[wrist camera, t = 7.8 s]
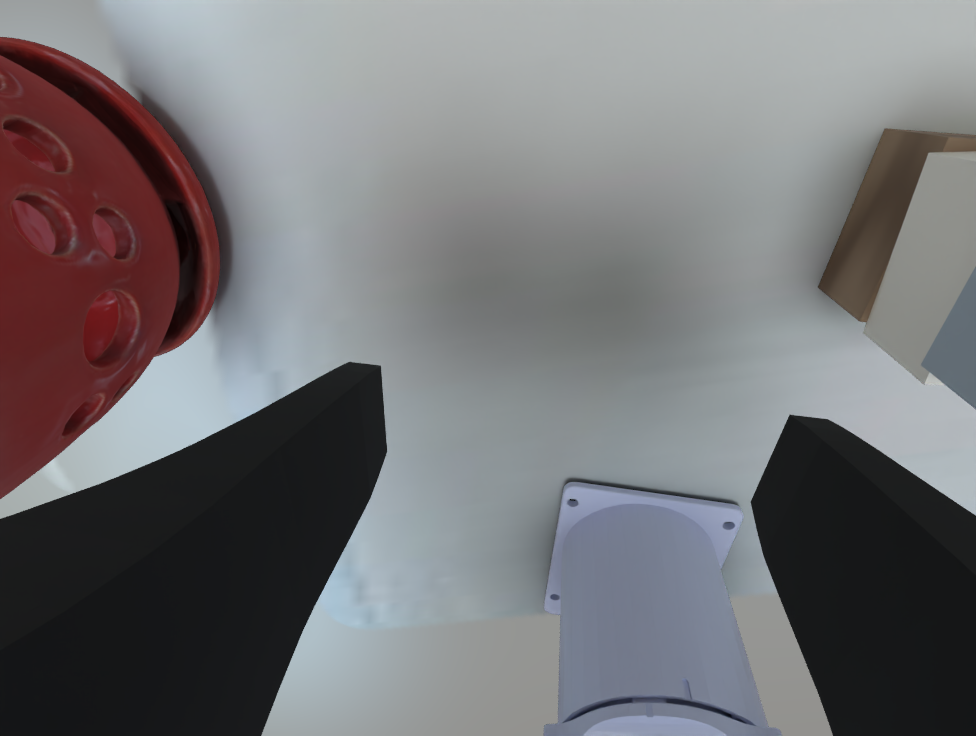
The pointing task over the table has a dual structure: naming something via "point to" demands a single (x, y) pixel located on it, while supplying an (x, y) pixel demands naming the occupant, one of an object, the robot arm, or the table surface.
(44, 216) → the plant pot
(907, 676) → the robot arm
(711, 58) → the table surface
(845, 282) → the walnut block
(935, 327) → the cream block
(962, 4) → the table surface
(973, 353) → the slate block
